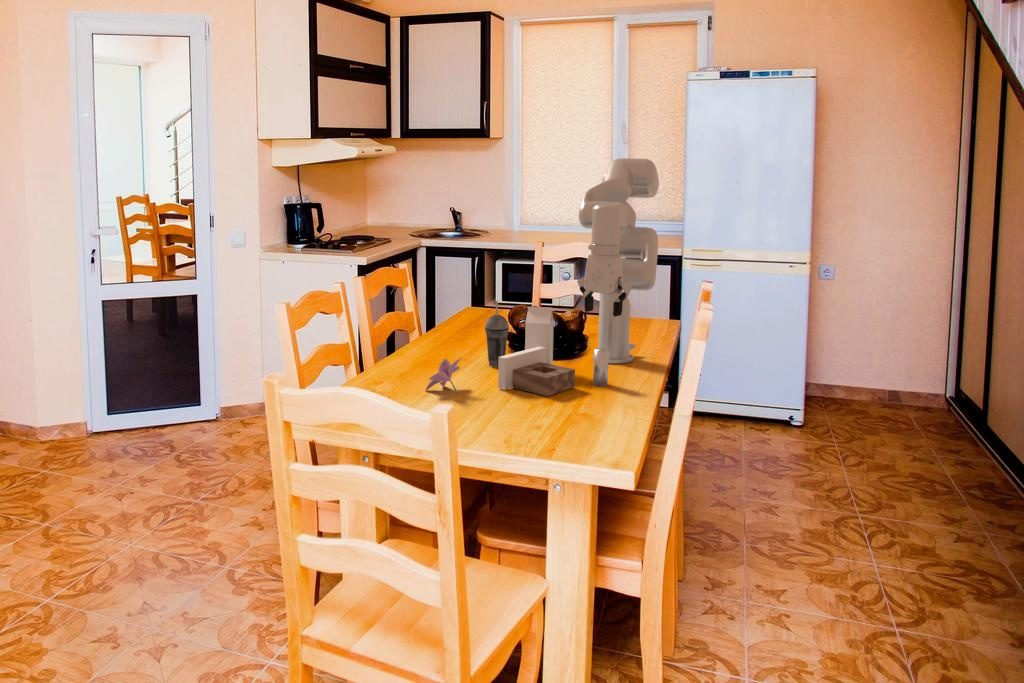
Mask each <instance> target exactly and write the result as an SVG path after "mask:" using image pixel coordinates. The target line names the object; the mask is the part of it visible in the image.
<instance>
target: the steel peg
mask: <svg viewBox="0 0 1024 683" xmlns="http://www.w3.org/2000/svg"><path fill="white" fill-rule="evenodd" d="M593 354H594V359H593V377H592V378H593V379H592V382H593V383H592V385H593V386H594V387H601V386H602V387H607V386H608V382H609V381H608V378H609V363H608V361H609V349H606V348H598V347H597V348H594V352H593Z"/></svg>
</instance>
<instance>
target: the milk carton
mask: <svg viewBox="0 0 1024 683" xmlns="http://www.w3.org/2000/svg"><path fill="white" fill-rule="evenodd" d="M525 318H526V319H525V333H524V334H525V335H524V336H525V337H524V338H525V342H524V350H527V349H531V348H535V347H539V346H542V347H547V360H546V363H547V364H552V365H554V362H553V361H554V353H553V352H554V322H555V320H554V314H553V307H540V306H538V307H537V306H527V313H526V317H525Z"/></svg>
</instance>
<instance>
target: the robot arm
mask: <svg viewBox="0 0 1024 683" xmlns="http://www.w3.org/2000/svg"><path fill="white" fill-rule="evenodd" d="M659 185H660V180H659V174H658V170H657V167H656V165H655V163H654V162H653V161H652V160H651V159H648V158H631V157H629V158H627V157H626V158H623V157H621V158H616V159H613V160H612V161H611V162H610V163H609V164H608V165H607V169H606V172H605V173H604V174H603V177H602V179H601V183H598V184H596V185H595V186H592V187H590V188H589V189H588V190H586V191H585V193H584V195H583V196H582V199H581V203H580V205H579V209H578V221H579V224H580V225H581V226H582V227H583V228H585V229H591V243H590V244H589V245H588V247H587V248H588V250H589V251H590V252H591V253H590V254H588V256H587V260H586V264H585V269H584V271H585V272H584V276H583V277H581V278H580V279H578V280H577V284H578V287H579V290H580V293H582V297H583V298H584V312H585V313H588V312H592V311H594V300H595V298H594V296H593V294H594V293H596V294H597V293H599V310H598V335H597V336H598V339H597V343H598V344H597V348H606V349H609V361H608V364H627V363H632V362H633V361H634V355H633V354H632V353H630V351H631V350H634V349H636V344H635V343H634V342H632V343H630V332H631V331H630V329H631V326H630V325H631V308H632V307H631V306H632V304H631V302H630V299H629V298H628V297H629V294H630V292H631V291H651V290H652V289H653V288H654V286H655V284H656V276H657V267H658V264H657V263H658V251H659V235H658V233H657V231H656V230H655V229H654V228H652V227H646V226H636V220H637V213H636V211H635V210H634V208H633V207H632V205H631V204H630V203H629V202H628V200H629V198H634V199H635V198H637V199H650V198H654V197H655V196H656V195H657V193H658V191H659ZM592 359H593V360H594V353H593V354H592Z"/></svg>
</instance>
